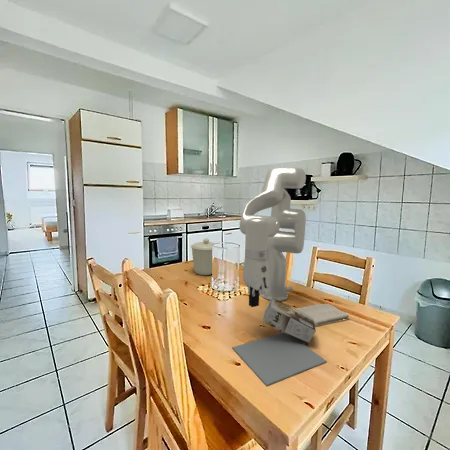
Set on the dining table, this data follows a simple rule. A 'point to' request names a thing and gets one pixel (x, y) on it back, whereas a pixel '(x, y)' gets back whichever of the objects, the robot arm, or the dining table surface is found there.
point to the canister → (202, 257)
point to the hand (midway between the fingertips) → (253, 305)
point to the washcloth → (323, 313)
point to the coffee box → (289, 321)
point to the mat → (277, 357)
